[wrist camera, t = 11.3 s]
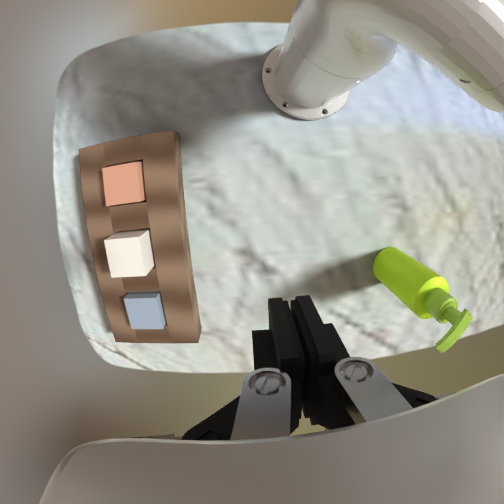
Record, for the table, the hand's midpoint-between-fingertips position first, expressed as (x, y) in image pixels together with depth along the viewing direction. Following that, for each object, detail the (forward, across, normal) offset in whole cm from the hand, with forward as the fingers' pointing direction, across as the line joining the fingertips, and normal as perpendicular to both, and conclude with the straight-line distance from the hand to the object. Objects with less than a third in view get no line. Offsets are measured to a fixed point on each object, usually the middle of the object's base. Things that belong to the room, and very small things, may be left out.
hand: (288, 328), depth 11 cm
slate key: (+28, +17, +12) cm, 34 cm away
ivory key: (+26, +17, +3) cm, 31 cm away
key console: (+29, +17, +3) cm, 34 cm away
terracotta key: (+28, +17, -6) cm, 33 cm away
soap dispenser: (+29, -21, +10) cm, 37 cm away
